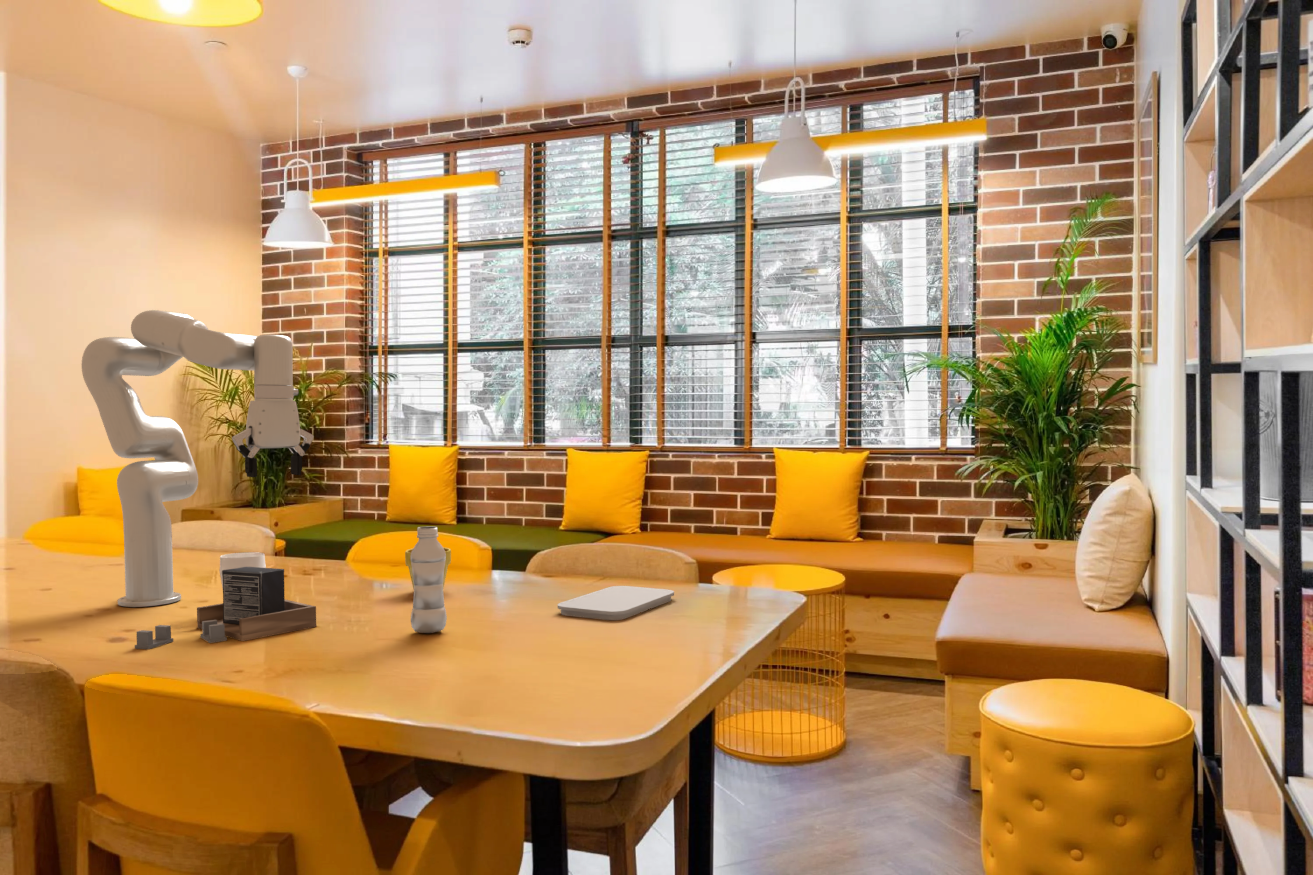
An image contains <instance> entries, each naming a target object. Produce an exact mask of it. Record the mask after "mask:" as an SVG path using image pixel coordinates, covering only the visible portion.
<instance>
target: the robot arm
mask: <svg viewBox="0 0 1313 875" xmlns="http://www.w3.org/2000/svg"><path fill="white" fill-rule="evenodd" d="M130 331H131V335H132V337H133V338H132V337H122V336H121V337H120V336H109V337H107V336H106V337H105V336H104V337H100V338H99V337H98V338H96V339H94V340H92V341H91V342H89V344H87V346H86V347H85V349H84V351H83V354H82V358H81V373H82V374H81V375H82V378H83V380H84V383H85V385H86V387H87V389H88V391H89V393H90V395H91V397H92V398H93V401H94V402H95V404H96V407H97V409H98V410H97V411H98V413H99V416H100V418H101V421H102V424H103V427H104V431H105V433H106V436H107V438H108V442H109V443H110V446H111V448H112V450H113V452H114V453H115V454H116V455H117V456H118V457H120V458H124V459H145V458H146V459H149V458H153V460H152V459H151V460H150V459H149V460H140V461H139V460H138V461H134V462H131V463H129V464H127V465H125V466H124V467H123V468H122V469H121V470H120V471H119V473H118V475H117V478H116V485H117V492H118V497H119V500H120V505H121V512H122V520H123V522H122V523H123V543H124V545H123V546H124V547H123V548H124V550H123V552H124V553H123V554H124V582H125V584H124V585H125V587H124V589H125V595H124V596H122V597H119V598H118V599H117V605H118V606H121V607H127V608H141V607H154V606H156V607H157V606H161V605H168V604H171V603H175V602H178V601H180V600H181V599H182V594H181V593H180V592H176V591H174V568H173V567H174V566H173V563H174V562H173V560H174V558H173V531H172V530H173V528H172V519H171V516H170V513H169V512H168V510H167V509H166V506H165V505H164V502H172V501H173V502H174V501H180V500H185V499H188V498H190V497H192V496H193V495H194V494H195V493H196V491H197V490H198V486H199V474H198V469H197V466H196V464H195V461H194V457H193V456H192V453H191V450H190V448H189V444H188V441H187V438H186V436H185V433H184V431H183V428H181V426H180V425H179V423H177V422H176V421H175V420H174V419H173V418H170V417H167V416H163V415H148V414H146V412H145V410H144V408H143V406H142V403H141V399H140V397H139V395H138V393H137V392H136V391H135V389H134V388H133V387H132V386H131V385H130V384H129V383H128V382H127V381H125V379H123V376H133V377H134V376H135V377H136V376H138V377H140V376H141V377H142V376H143V377H154V376H157V375H161V374H163V373H164V372H165V371H167V370H168V369H170V368H171V367H172V366H173V365H175V364H177V362H179V360H181V359H182V358H184V359H186V360H187V361H188V362H192V363H194V364H198V365H201V366H205V367H210V368H214V369H220V370H235V371H236V370H237V371H253V372H254V374H253V380H254V383H253V385H254V387H253V388H254V392H253V393H254V400H250V401H249V404H248V405H249V406H248V410H247V415H246V427H245V429H244V430H242V431H240V432H239V433H237V434H235V435H233V436H232V437H231V440H232V442H233V443H234V446H235V448H236V450H237V451H238V452H239V453H240V454H241V455H242V457H243V458H244V471H245V472H244V473H246V477H247V478H256V477H258V458H257V457H255V456H256V454H257V453H258V452H259V451H260V449H282V448H283V449H289V451H290V452H291V454H292V455H291V456H290V474H291V475H294V476H295V475H296V476H298V475H299V476H300V475H302V470H303V456H305V453H306V452H307V451H308V450H309V449H310V447H311V444H312V442H313V440H314V437H315V436H314V435H313V434H312V433H310V432H308V431H306V430H305V429H302V428H301V427H300V426H301V425H300V415H299V411H298V410H299V409H298V406H297V402H296V400H294V397H295V396H298V395H299V389H298V388H294V382H293V380H294V378H293V377H294V376H293V375H294V373H293V372H294V370H293V367H294V366H293V365H294V364H293V363H294V362H293V361H294V360H293V359H294V357H293V352H294V349H293V347H294V345H293V340H292V338H291V337H290V336H287V335H283V334H260V335H253V334H242V333H233V332H232V333H229V332H221V331H216V330H211V329H209V328H208V326H207V324H205V323H204V322H203V321H200V320H198V319H195V318H193V317H192V316H190V315H189V314H187V313H184V312H176V311H166V310H165V311H164V310H159V309H157V310H156V309H155V310H154V309H152V310H144V311H142V312H139V313H138V314H137V315H136V316H134V318H133V319H132V321H131V325H130ZM301 437H302V438H303V442H302V443H301ZM244 439H245V443H244V441H243V440H244ZM300 443H301V444H300ZM244 444H246V445H244Z"/></svg>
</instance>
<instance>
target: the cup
mask: <svg viewBox="0 0 1313 875" xmlns="http://www.w3.org/2000/svg"><path fill="white" fill-rule="evenodd" d="M265 555H266V554H265V552H258V551H252V552H251V551H247V552H233V553H226V554H221V555H220V556H219V576H220V583H221V588H222V589H223V576H222V570H227V569H234V568H241V567H259V568H267V566H266V556H265Z"/></svg>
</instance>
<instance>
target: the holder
mask: <svg viewBox="0 0 1313 875" xmlns="http://www.w3.org/2000/svg"><path fill="white" fill-rule="evenodd" d="M209 620H217V623H218V624H221V623H223V603H218V604H211V605H205V606H197V607H196V621H197V622H196V623H197V624H196V626H197V629H200V630H202V621H209ZM223 624H224V626H225V636H226V637H227V638H231V639H234V640H238V641H241V642H244V641H249V640H255V639H259V638H260V639H261V638H265V637H270V636H275V635H281V634H287V633H291V632H294V631H301V630H306V629H312V628H317V607H316V606H315V605H311V604H307V603H303V602H299V601H298V602H297V601H293V600H289V599H285V611H281V612H275V613H269V614H264V615H258V616H252V617H246V618H241V619H239V624H228V623H223Z"/></svg>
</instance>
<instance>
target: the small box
mask: <svg viewBox="0 0 1313 875" xmlns="http://www.w3.org/2000/svg"><path fill="white" fill-rule="evenodd" d="M222 576H223V588H222V602H223V623H228V624H239V619H241V618H246V617H252V616H258V615H264V614H269V613H275V612H281V611H285V600H286V599H285V569H284V568H272V567H271V568H270V567H266V568H259V567H241V568H234V569H227V570H222Z"/></svg>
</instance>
